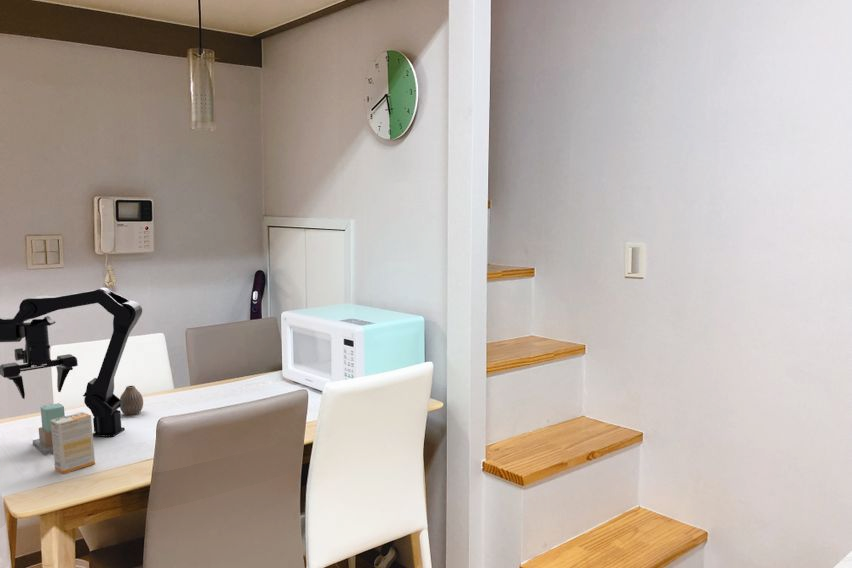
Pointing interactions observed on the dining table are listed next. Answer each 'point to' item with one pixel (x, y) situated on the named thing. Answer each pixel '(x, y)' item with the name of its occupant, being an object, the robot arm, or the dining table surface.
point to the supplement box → (72, 442)
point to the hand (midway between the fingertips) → (41, 395)
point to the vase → (131, 401)
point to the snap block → (51, 414)
